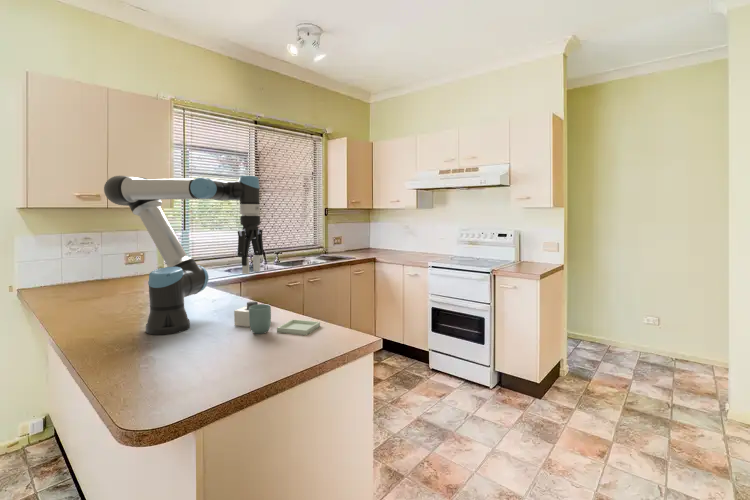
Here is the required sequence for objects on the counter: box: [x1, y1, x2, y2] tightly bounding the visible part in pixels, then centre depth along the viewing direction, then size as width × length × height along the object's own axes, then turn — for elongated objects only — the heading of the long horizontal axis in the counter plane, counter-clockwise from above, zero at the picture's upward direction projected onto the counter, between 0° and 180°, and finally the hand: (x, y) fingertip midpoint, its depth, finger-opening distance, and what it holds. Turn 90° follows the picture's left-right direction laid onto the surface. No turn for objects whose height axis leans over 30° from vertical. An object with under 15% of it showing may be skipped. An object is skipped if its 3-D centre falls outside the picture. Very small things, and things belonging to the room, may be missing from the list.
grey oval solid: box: [246, 301, 259, 310], centre depth 160 cm, size 4×4×6 cm
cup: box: [249, 303, 272, 335], centre depth 147 cm, size 8×8×10 cm
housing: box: [233, 305, 250, 328], centre depth 160 cm, size 10×10×6 cm
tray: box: [276, 318, 321, 336], centre depth 152 cm, size 12×12×2 cm
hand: (251, 272), depth 158 cm, fingers open, 7 cm apart
